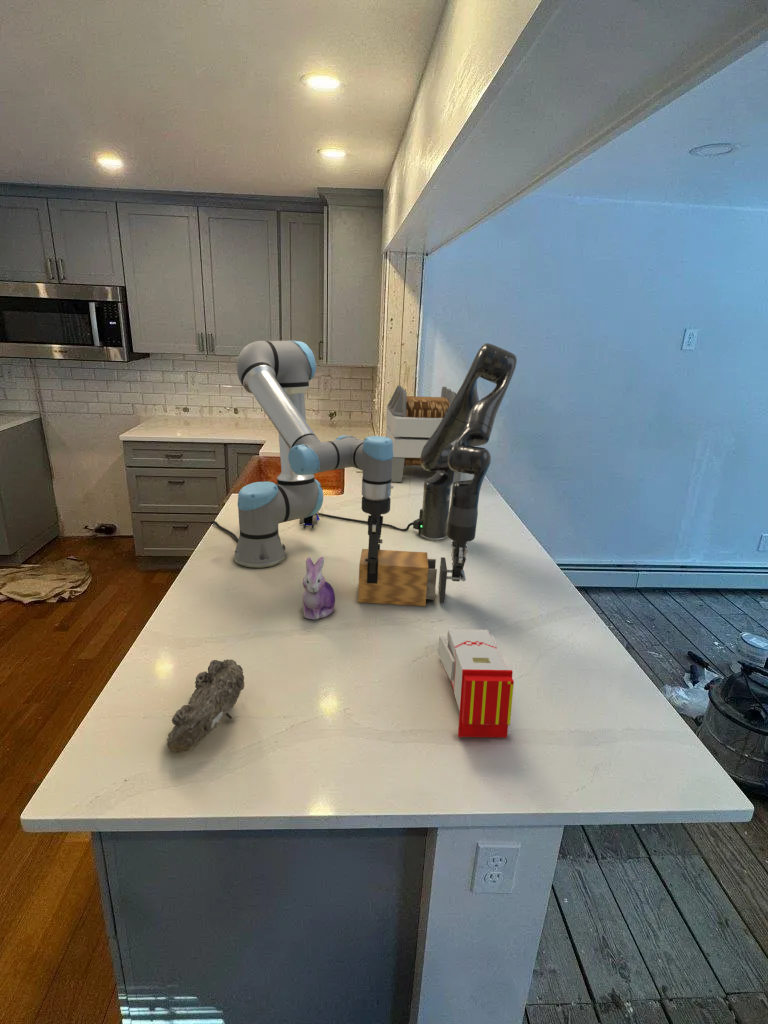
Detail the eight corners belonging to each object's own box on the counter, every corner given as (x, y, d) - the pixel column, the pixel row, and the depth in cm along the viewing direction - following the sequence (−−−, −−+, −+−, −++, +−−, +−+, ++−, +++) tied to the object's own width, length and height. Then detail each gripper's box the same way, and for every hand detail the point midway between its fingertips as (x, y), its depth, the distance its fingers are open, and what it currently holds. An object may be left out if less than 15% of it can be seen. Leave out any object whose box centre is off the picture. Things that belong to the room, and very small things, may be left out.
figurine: (308, 624, 140) (307, 569, 135) (294, 605, 149) (293, 553, 144) (343, 617, 145) (344, 563, 139) (327, 599, 153) (328, 548, 148)
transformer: (382, 463, 289) (386, 382, 275) (445, 464, 293) (451, 384, 279) (390, 482, 257) (394, 392, 243) (460, 483, 261) (468, 394, 247)
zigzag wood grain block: (424, 589, 161) (427, 552, 157) (425, 606, 152) (428, 567, 148) (360, 585, 162) (362, 548, 158) (358, 602, 152) (359, 563, 149)
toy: (488, 613, 130) (523, 677, 101) (484, 667, 133) (517, 744, 104) (435, 612, 130) (455, 676, 101) (432, 666, 133) (451, 743, 103)
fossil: (192, 660, 117) (244, 628, 112) (224, 691, 120) (276, 661, 115) (142, 746, 98) (202, 712, 93) (182, 779, 101) (242, 748, 96)
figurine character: (317, 534, 199) (321, 515, 212) (317, 515, 196) (321, 497, 209) (298, 534, 199) (303, 515, 212) (298, 515, 195) (302, 496, 209)
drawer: (461, 589, 160) (464, 558, 157) (464, 604, 152) (467, 572, 149) (383, 584, 161) (384, 554, 157) (381, 599, 153) (383, 567, 149)
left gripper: (389, 511, 137) (385, 594, 144) (391, 484, 158) (388, 557, 165) (358, 510, 137) (356, 592, 144) (365, 483, 158) (362, 556, 166)
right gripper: (479, 531, 142) (471, 592, 148) (474, 513, 155) (467, 570, 161) (449, 528, 143) (442, 590, 148) (446, 511, 155) (440, 568, 161)
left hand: (373, 573), depth 155 cm, fingers closed on zigzag wood grain block, 10 cm apart
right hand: (455, 579), depth 155 cm, fingers closed
